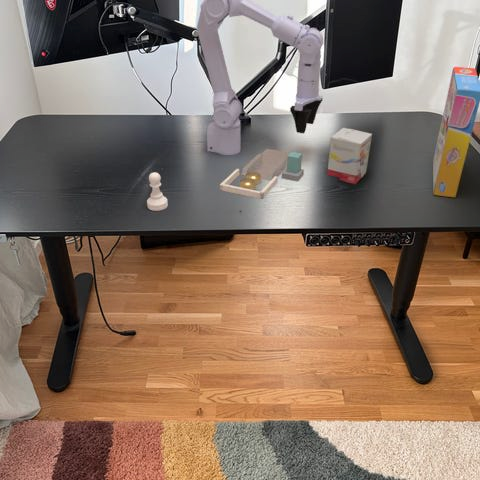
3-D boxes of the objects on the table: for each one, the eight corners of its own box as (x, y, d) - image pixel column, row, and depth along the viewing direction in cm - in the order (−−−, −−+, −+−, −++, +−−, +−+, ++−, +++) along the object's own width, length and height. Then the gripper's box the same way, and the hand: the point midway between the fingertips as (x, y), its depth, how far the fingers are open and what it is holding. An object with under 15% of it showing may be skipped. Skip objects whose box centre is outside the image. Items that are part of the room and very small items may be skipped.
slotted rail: (239, 177, 141) (239, 168, 139) (266, 151, 155) (266, 143, 154) (274, 184, 137) (274, 175, 136) (298, 157, 152) (298, 148, 150)
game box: (455, 198, 130) (482, 91, 115) (432, 195, 132) (456, 89, 117) (452, 165, 147) (476, 67, 132) (432, 162, 148) (453, 65, 133)
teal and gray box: (281, 181, 139) (282, 157, 135) (287, 174, 142) (288, 151, 138) (297, 185, 137) (299, 160, 133) (303, 178, 141) (304, 154, 137)
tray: (220, 193, 133) (219, 184, 132) (236, 177, 141) (236, 168, 140) (262, 202, 129) (262, 193, 128) (277, 185, 137) (277, 176, 136)
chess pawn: (171, 207, 127) (168, 174, 122) (152, 213, 125) (148, 179, 120) (162, 199, 131) (159, 166, 126) (144, 204, 129) (140, 171, 124)
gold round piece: (237, 192, 133) (237, 184, 132) (242, 185, 136) (242, 177, 135) (252, 194, 132) (252, 186, 130) (257, 187, 135) (257, 179, 134)
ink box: (355, 185, 137) (361, 143, 130) (325, 177, 141) (329, 136, 134) (367, 172, 143) (373, 132, 136) (338, 165, 147) (342, 126, 140)
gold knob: (243, 186, 136) (243, 177, 134) (247, 179, 139) (247, 171, 138) (258, 187, 135) (258, 179, 134) (262, 180, 138) (262, 172, 137)
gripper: (314, 88, 130) (310, 139, 137) (330, 73, 141) (326, 121, 148) (288, 84, 132) (285, 135, 140) (306, 70, 143) (303, 117, 151)
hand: (305, 127), depth 144 cm, fingers open, 7 cm apart
